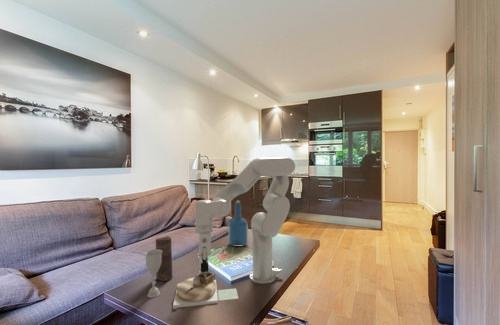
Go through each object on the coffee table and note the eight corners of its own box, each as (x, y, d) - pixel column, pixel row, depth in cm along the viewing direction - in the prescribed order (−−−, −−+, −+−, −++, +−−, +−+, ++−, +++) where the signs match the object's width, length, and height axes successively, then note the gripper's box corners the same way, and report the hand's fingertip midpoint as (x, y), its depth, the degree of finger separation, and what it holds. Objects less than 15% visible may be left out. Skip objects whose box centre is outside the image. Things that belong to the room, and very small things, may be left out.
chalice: (165, 289, 105) (164, 249, 105) (159, 298, 98) (159, 255, 98) (148, 290, 104) (148, 249, 105) (141, 299, 98) (141, 255, 98)
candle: (154, 283, 111) (154, 240, 111) (156, 276, 118) (156, 235, 118) (172, 281, 113) (172, 238, 113) (172, 274, 120) (172, 234, 120)
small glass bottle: (206, 276, 108) (205, 249, 108) (210, 279, 104) (208, 252, 105) (198, 278, 106) (197, 251, 106) (201, 282, 102) (200, 254, 103)
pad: (236, 289, 105) (236, 288, 105) (238, 299, 97) (238, 298, 97) (217, 291, 103) (217, 290, 103) (218, 301, 95) (218, 300, 95)
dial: (197, 306, 90) (197, 292, 90) (168, 294, 98) (168, 282, 98) (223, 286, 104) (223, 275, 104) (196, 277, 112) (196, 267, 112)
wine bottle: (251, 243, 166) (251, 200, 167) (240, 249, 155) (240, 203, 155) (235, 240, 174) (235, 199, 174) (224, 245, 162) (224, 201, 163)
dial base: (215, 283, 110) (215, 279, 110) (217, 304, 94) (217, 300, 94) (178, 286, 107) (178, 283, 107) (173, 309, 91) (173, 305, 91)
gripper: (213, 232, 98) (213, 277, 98) (212, 223, 115) (212, 261, 114) (195, 234, 97) (195, 279, 97) (196, 223, 113) (196, 262, 113)
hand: (204, 268), depth 105 cm, fingers closed on small glass bottle, 4 cm apart
